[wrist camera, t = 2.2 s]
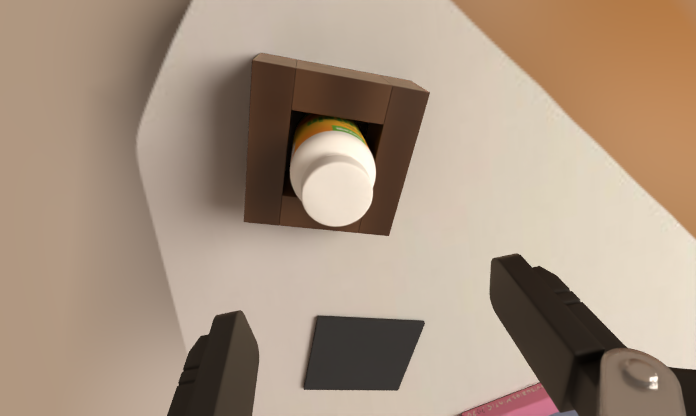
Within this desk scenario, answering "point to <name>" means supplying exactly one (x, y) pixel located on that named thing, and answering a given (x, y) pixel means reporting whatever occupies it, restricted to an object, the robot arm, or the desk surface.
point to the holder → (337, 101)
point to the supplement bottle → (332, 169)
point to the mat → (360, 353)
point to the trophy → (521, 405)
